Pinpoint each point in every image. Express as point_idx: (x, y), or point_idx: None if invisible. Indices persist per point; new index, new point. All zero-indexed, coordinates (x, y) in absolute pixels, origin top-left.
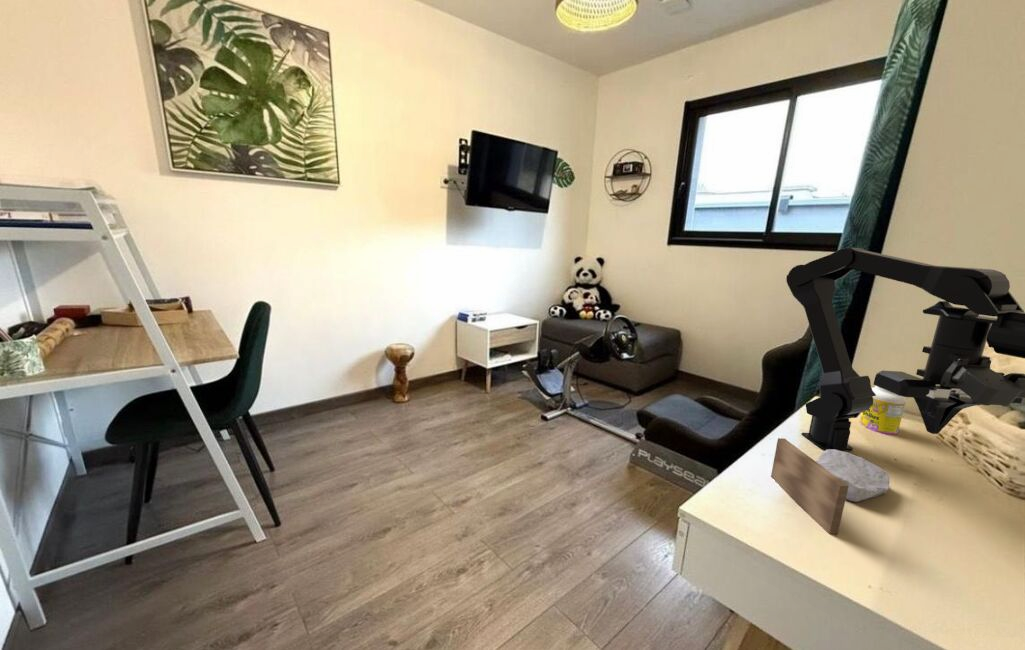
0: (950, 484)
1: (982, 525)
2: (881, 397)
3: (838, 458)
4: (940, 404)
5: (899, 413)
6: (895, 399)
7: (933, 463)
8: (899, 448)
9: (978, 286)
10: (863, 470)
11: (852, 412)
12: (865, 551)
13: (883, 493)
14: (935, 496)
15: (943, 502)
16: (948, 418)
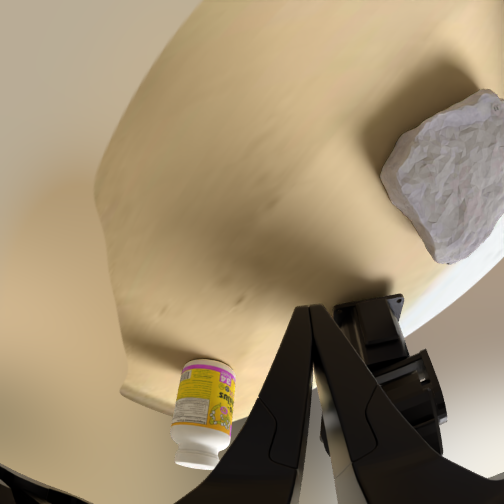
0: (180, 224)
1: (236, 40)
2: (218, 436)
3: (480, 219)
4: (472, 477)
5: (185, 405)
6: (195, 433)
7: (166, 299)
8: (201, 336)
9: None
10: (461, 176)
11: (404, 383)
12: None
13: (409, 130)
14: (261, 152)
15: (261, 126)
16: (284, 396)
